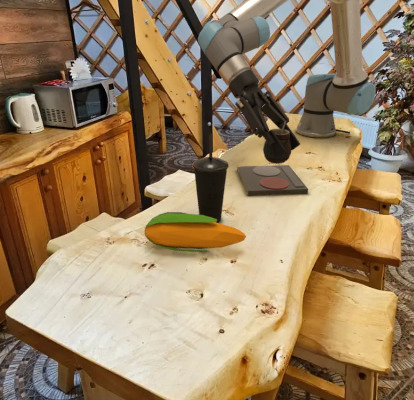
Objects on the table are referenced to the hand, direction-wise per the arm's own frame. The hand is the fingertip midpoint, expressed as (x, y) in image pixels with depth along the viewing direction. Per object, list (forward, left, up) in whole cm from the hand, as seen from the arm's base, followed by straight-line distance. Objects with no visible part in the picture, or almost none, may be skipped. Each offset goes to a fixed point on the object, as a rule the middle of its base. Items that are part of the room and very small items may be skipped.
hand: (289, 150), depth 94 cm
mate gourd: (+2, -3, -4) cm, 5 cm away
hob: (+3, -7, -11) cm, 14 cm away
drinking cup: (+22, +14, -12) cm, 28 cm away
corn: (+26, +25, -12) cm, 38 cm away
